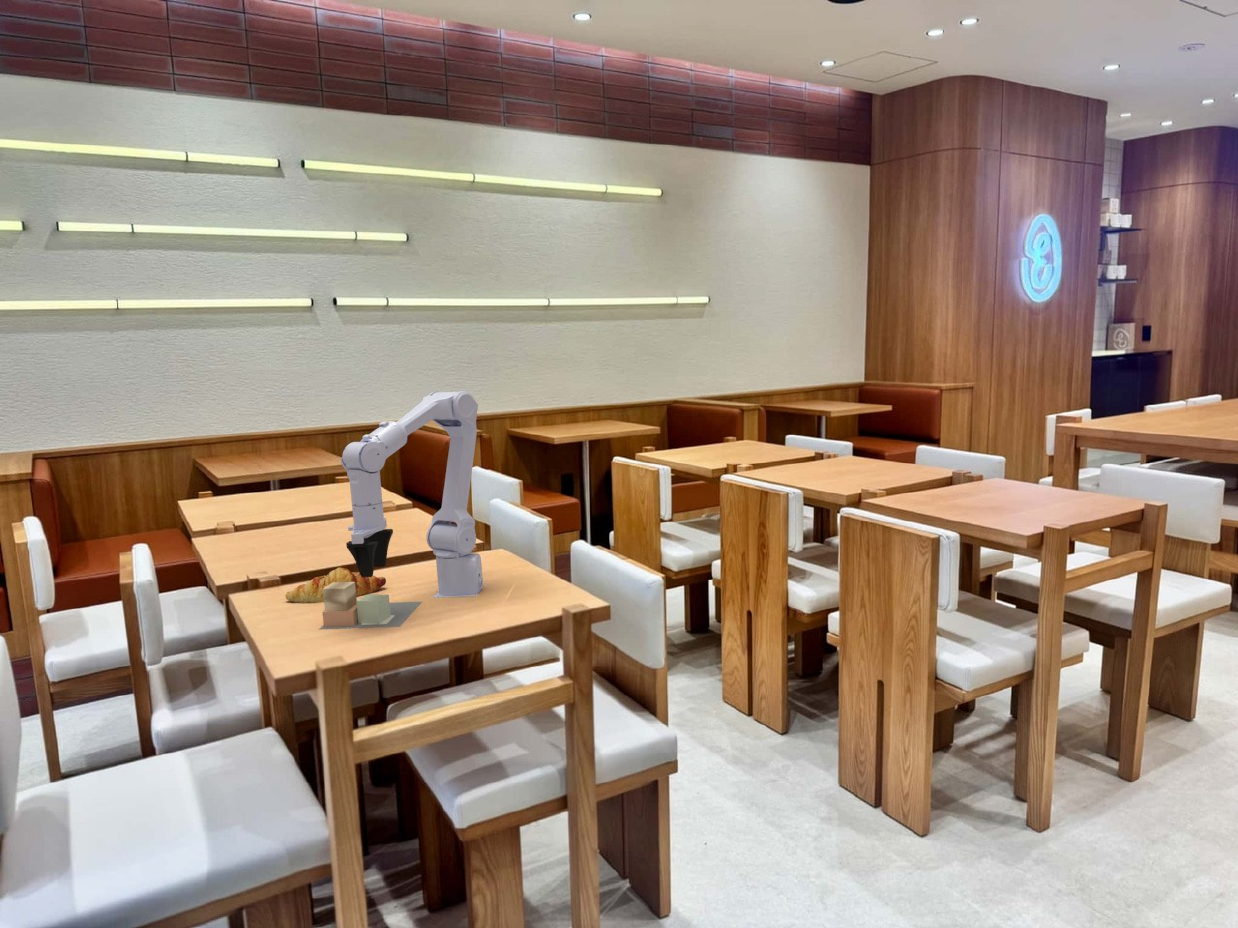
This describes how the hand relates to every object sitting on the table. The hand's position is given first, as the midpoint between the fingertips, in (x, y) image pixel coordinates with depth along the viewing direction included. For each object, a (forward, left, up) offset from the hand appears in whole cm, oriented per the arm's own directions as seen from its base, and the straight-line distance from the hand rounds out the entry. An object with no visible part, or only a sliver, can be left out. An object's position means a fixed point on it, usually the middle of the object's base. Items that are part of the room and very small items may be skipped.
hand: (373, 571), depth 164 cm
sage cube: (+1, 0, -10) cm, 10 cm away
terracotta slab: (+7, 0, -10) cm, 12 cm away
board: (+2, -4, -10) cm, 11 cm away
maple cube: (+7, 0, -7) cm, 10 cm away
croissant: (+15, -19, -11) cm, 27 cm away
